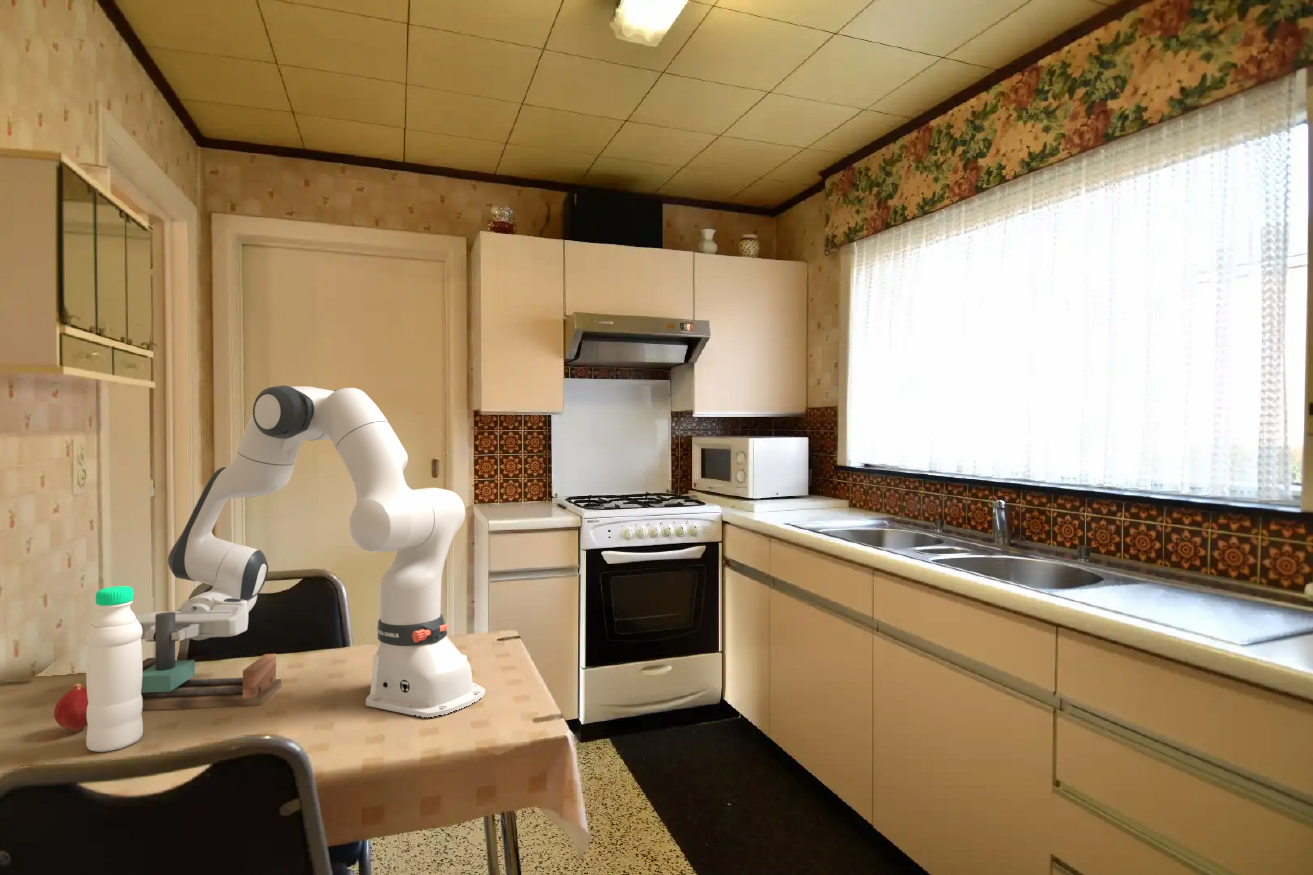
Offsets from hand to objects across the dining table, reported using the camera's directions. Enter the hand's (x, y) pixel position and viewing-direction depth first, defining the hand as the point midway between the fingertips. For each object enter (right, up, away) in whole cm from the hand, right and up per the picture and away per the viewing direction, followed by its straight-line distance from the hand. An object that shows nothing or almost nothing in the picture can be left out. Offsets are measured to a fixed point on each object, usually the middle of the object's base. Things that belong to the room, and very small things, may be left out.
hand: (162, 637), depth 124 cm
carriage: (0, -9, +1) cm, 9 cm away
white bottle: (+4, -12, -16) cm, 21 cm away
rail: (+6, -12, +2) cm, 14 cm away
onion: (-5, -12, -12) cm, 18 cm away
